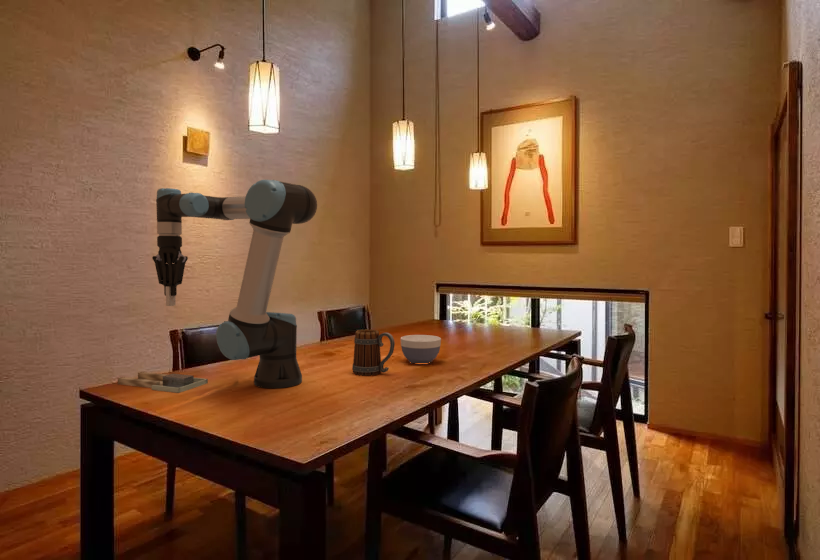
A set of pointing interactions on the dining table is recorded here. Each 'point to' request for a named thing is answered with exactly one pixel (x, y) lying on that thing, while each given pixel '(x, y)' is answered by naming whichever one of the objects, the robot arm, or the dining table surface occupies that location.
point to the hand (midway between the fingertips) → (170, 305)
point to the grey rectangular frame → (177, 390)
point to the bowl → (420, 348)
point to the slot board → (143, 380)
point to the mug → (370, 352)
